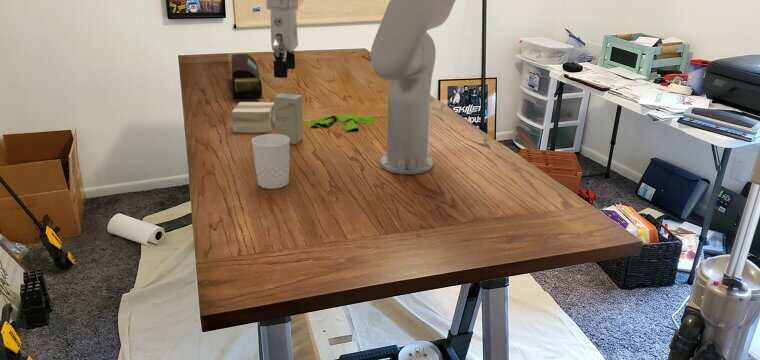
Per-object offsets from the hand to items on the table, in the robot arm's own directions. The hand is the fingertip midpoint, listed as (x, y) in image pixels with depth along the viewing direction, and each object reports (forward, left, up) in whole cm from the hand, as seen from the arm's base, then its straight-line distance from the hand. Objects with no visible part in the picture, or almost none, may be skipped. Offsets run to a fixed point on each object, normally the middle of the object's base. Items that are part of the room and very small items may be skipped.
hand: (284, 73), depth 142 cm
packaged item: (+55, +26, -18) cm, 64 cm away
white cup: (-28, -2, -18) cm, 34 cm away
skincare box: (0, 0, -18) cm, 18 cm away
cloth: (+15, -11, -19) cm, 27 cm away
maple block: (+11, +12, -18) cm, 24 cm away
